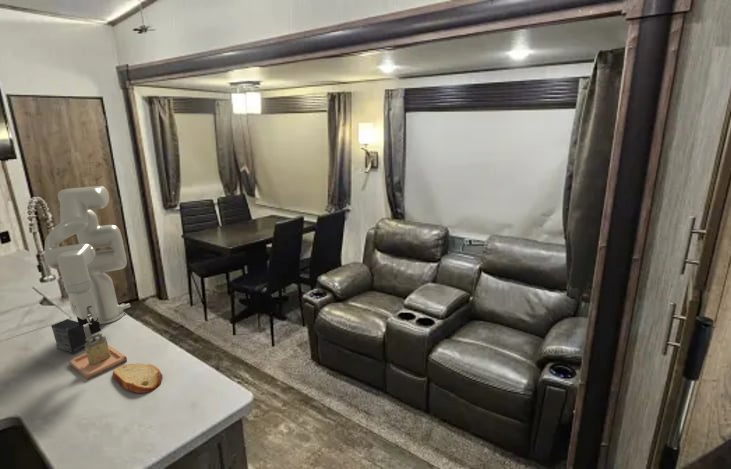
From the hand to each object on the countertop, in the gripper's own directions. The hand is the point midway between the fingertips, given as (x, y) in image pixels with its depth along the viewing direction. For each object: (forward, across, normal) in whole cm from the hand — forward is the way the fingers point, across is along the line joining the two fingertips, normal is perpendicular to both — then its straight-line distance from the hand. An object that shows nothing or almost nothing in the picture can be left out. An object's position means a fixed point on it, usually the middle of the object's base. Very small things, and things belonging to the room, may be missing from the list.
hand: (90, 328), depth 143 cm
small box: (+15, -19, -2) cm, 24 cm away
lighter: (+13, +1, 0) cm, 13 cm away
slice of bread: (+14, +24, +2) cm, 28 cm away
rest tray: (+14, +1, -1) cm, 14 cm away
